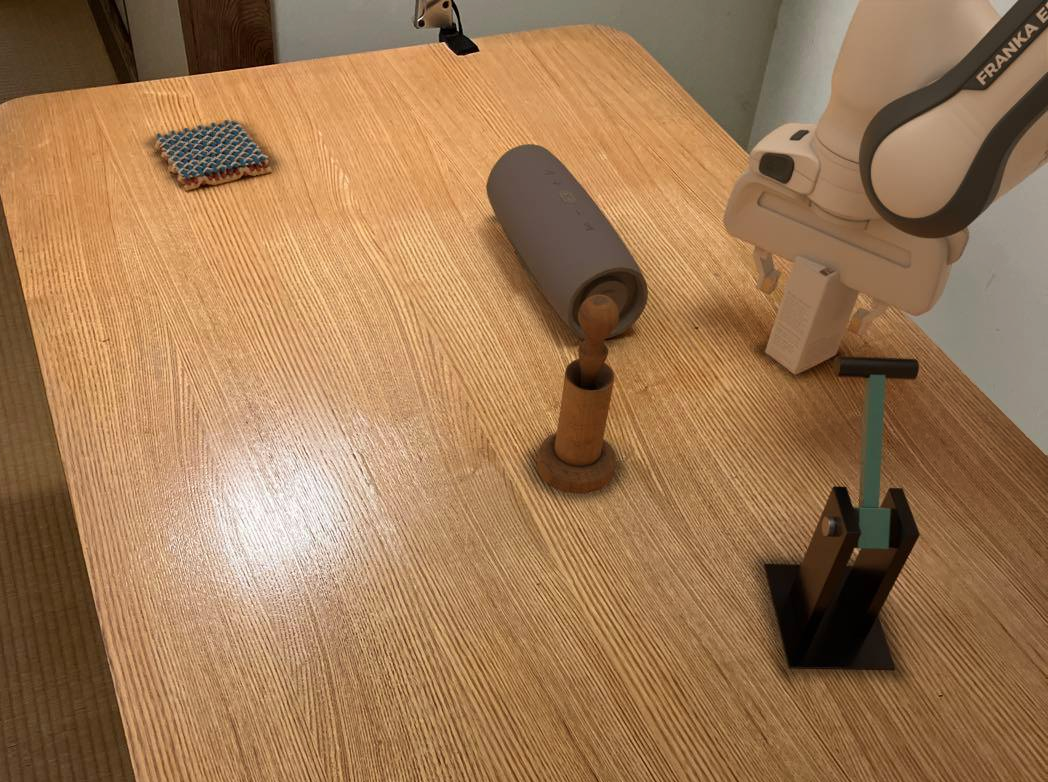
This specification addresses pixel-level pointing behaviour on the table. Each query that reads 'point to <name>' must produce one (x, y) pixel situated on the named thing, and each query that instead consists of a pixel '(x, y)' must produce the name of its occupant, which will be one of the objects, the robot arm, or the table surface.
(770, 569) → the bracket
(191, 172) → the woven mat
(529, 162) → the bluetooth speaker
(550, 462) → the mortar and pestle
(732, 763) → the table surface
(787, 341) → the cosmetic box
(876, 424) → the lever
